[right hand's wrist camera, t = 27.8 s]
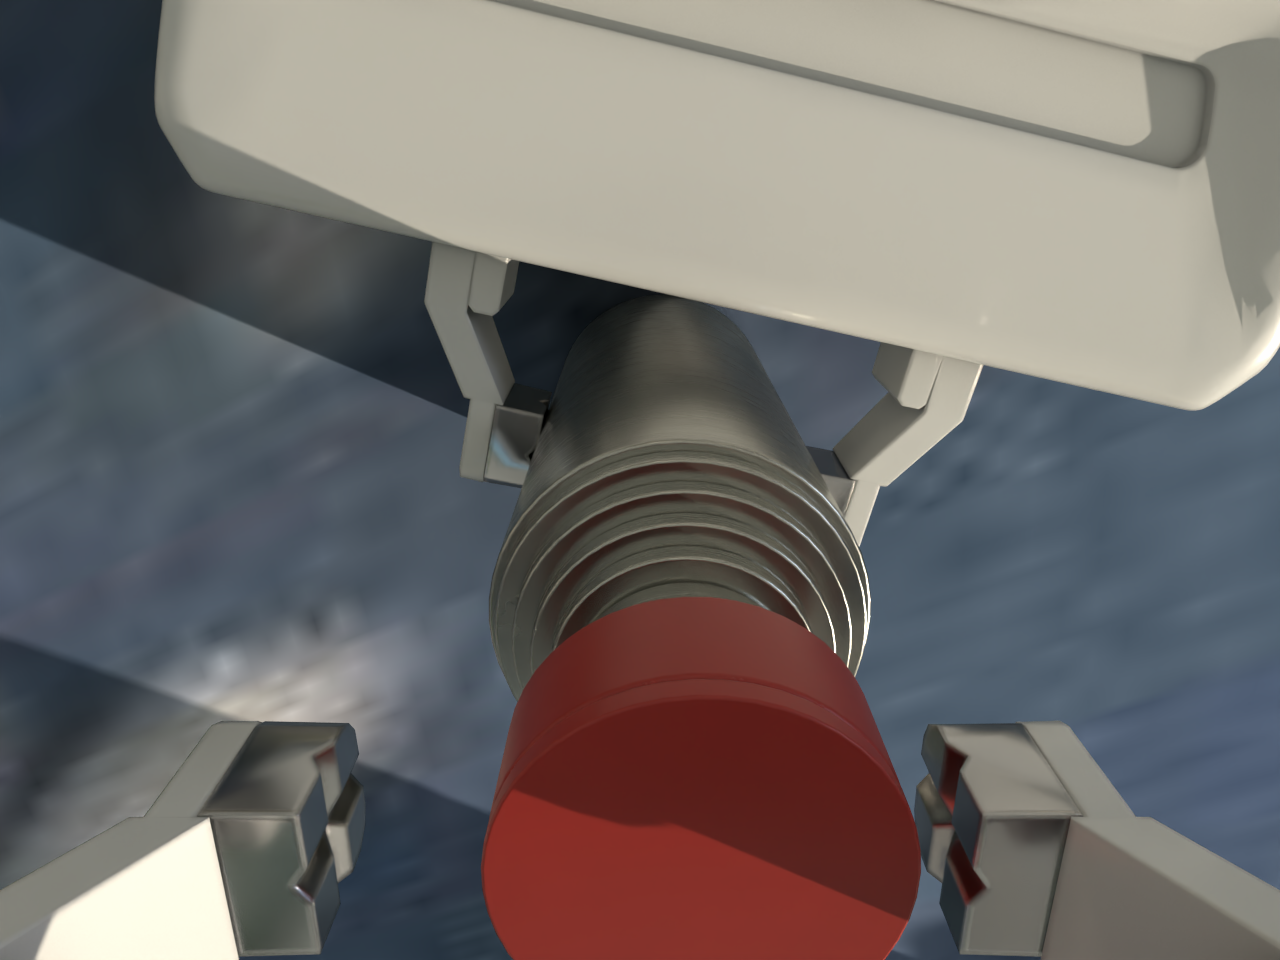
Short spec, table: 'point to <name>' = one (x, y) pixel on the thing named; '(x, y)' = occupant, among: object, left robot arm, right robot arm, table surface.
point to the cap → (697, 798)
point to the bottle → (670, 493)
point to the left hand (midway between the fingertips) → (659, 508)
